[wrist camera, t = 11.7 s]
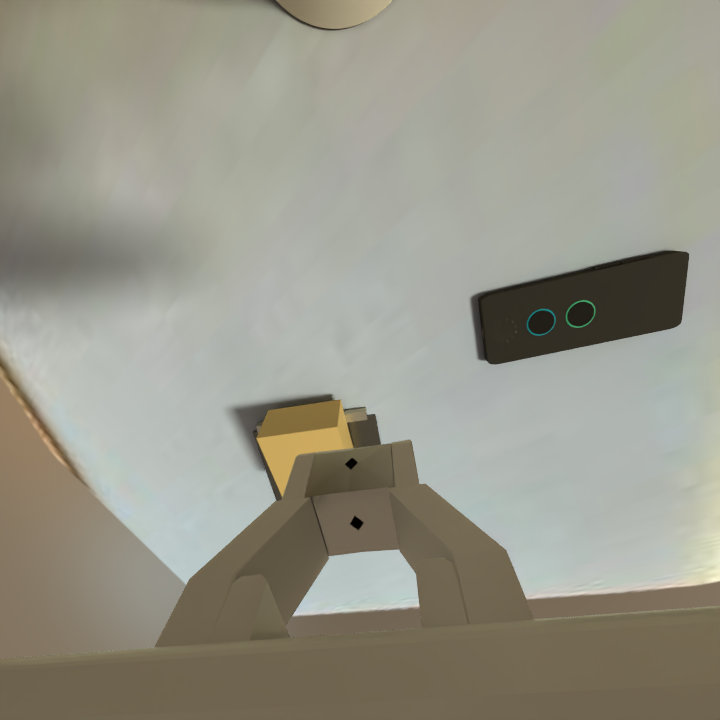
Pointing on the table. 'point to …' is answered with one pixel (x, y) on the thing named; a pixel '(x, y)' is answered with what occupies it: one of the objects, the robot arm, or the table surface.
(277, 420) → the mustard block
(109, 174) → the table surface
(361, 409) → the topple stop
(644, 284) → the smart home device
